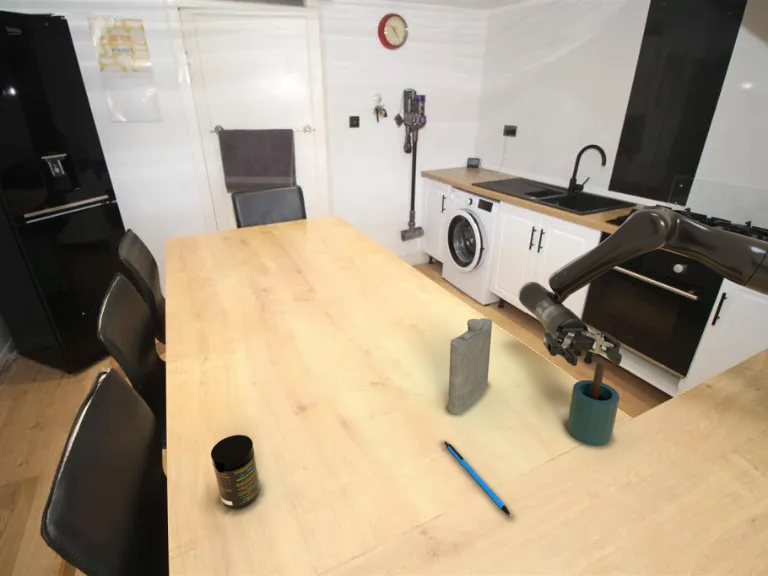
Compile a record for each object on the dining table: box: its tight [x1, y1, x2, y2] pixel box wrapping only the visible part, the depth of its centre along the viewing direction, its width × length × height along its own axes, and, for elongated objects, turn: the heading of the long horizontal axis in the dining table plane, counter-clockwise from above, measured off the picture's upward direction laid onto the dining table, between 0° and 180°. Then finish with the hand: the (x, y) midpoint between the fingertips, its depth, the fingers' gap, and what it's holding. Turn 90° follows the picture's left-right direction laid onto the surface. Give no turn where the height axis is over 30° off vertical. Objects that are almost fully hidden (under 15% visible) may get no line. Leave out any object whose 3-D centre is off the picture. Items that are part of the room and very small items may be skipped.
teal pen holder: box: [566, 379, 620, 447], centre depth 83 cm, size 8×8×10 cm
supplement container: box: [210, 434, 261, 510], centre depth 71 cm, size 7×7×10 cm
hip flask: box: [447, 317, 493, 415], centre depth 94 cm, size 16×4×20 cm, turn 141°
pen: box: [444, 440, 512, 516], centre depth 75 cm, size 1×19×1 cm, turn 25°
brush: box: [590, 359, 607, 400], centre depth 82 cm, size 4×4×16 cm
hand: (597, 361), depth 81 cm, fingers open, 8 cm apart
